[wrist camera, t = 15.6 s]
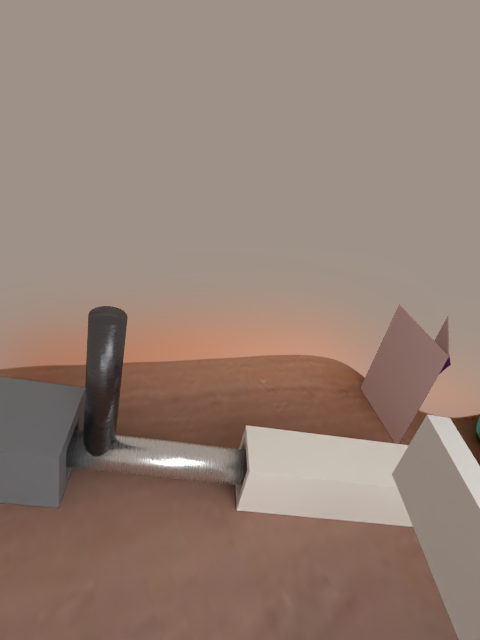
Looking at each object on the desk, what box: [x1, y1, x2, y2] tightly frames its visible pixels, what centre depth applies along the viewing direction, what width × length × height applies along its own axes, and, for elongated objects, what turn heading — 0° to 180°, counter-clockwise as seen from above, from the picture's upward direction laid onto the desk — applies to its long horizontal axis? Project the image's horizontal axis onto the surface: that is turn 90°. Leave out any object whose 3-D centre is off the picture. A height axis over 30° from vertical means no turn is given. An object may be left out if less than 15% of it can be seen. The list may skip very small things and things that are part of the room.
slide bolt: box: [66, 306, 247, 485], centre depth 41 cm, size 26×4×18 cm, turn 92°
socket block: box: [0, 377, 85, 508], centre depth 43 cm, size 10×9×7 cm
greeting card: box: [360, 305, 450, 444], centre depth 60 cm, size 11×7×15 cm, turn 157°
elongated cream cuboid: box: [235, 425, 413, 527], centre depth 48 cm, size 20×6×6 cm, turn 92°
